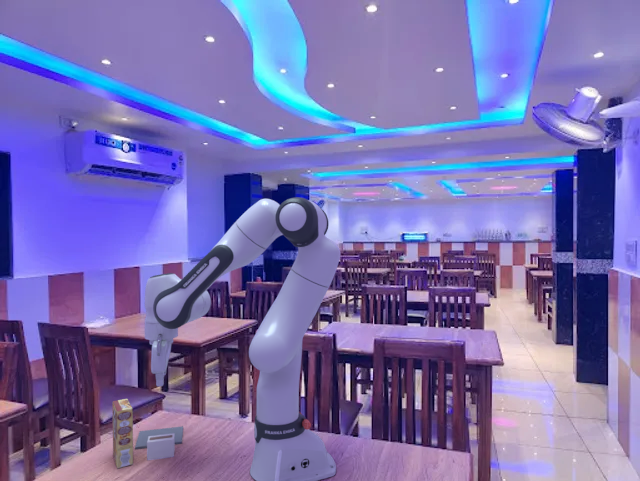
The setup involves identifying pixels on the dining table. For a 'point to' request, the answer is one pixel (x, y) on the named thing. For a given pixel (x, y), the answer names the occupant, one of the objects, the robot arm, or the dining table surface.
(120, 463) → the candy box
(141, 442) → the mat
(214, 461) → the dining table surface
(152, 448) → the block
